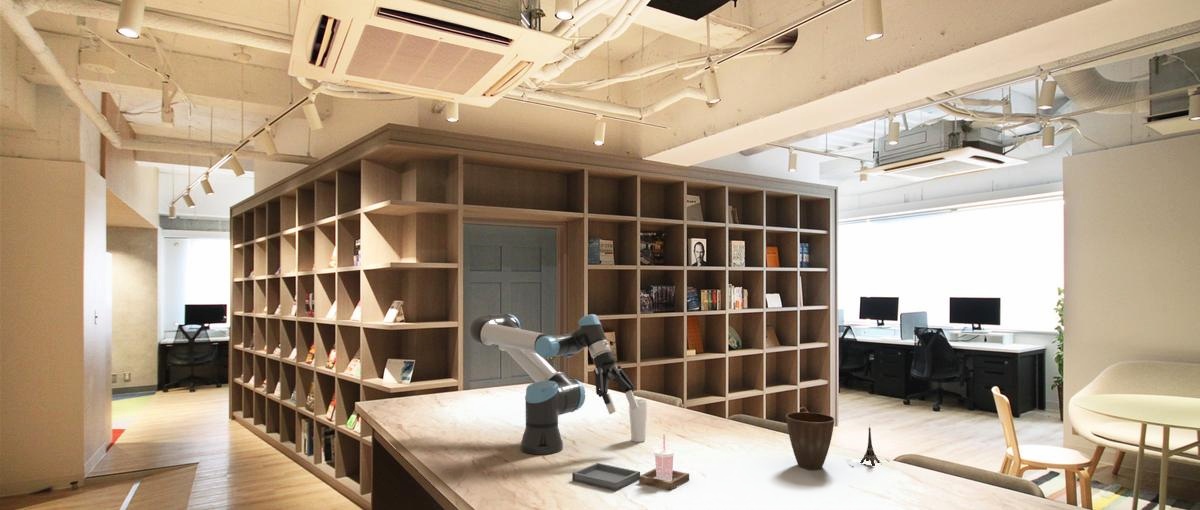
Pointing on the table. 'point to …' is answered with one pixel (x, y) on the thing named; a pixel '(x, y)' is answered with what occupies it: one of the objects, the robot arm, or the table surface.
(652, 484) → the holder
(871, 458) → the eiffel tower figurine
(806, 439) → the plant pot
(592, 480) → the tray
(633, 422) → the white tumbler
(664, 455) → the beverage cup
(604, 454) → the table surface
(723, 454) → the table surface
